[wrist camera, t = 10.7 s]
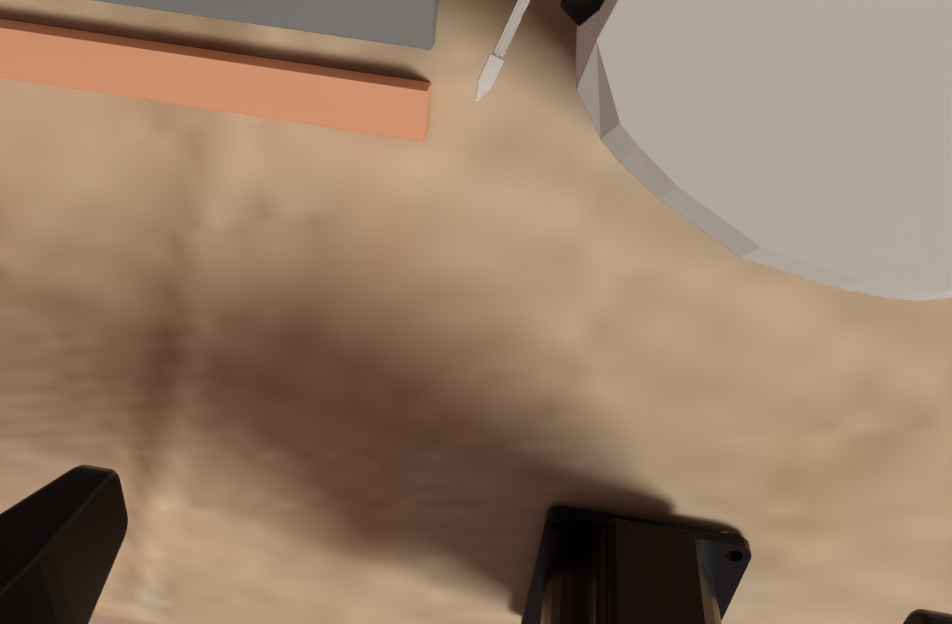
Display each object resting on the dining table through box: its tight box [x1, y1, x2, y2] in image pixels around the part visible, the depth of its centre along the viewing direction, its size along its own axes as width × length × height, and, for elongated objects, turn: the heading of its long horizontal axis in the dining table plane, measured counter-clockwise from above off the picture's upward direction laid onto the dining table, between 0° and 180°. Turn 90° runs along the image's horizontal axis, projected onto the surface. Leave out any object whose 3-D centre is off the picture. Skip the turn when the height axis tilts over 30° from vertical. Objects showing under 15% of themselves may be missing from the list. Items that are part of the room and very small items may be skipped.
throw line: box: [0, 19, 431, 142], centre depth 19 cm, size 1×20×1 cm, turn 84°
